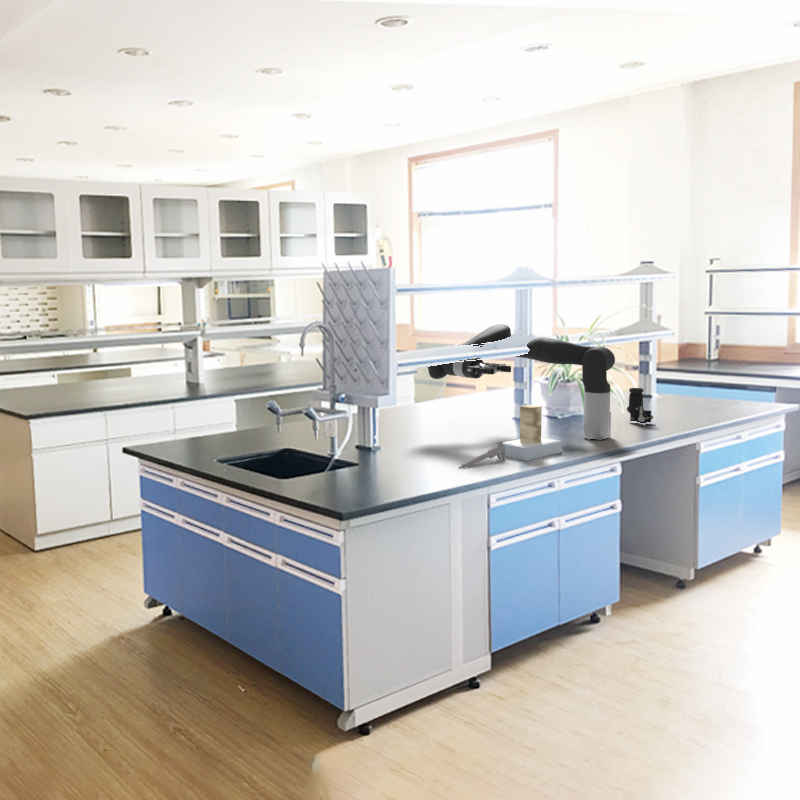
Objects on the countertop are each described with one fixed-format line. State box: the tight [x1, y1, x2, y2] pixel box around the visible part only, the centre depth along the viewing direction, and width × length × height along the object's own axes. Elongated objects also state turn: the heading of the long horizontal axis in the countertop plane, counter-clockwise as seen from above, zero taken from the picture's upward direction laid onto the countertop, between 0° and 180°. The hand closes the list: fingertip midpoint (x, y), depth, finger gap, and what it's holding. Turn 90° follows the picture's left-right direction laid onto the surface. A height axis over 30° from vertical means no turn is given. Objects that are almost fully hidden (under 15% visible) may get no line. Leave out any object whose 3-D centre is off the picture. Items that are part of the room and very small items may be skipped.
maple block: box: [519, 404, 543, 444], centre depth 283 cm, size 5×5×12 cm
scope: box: [626, 387, 654, 423], centre depth 338 cm, size 8×14×10 cm
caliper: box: [458, 440, 506, 469], centre depth 270 cm, size 20×1×6 cm, turn 130°
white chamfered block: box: [500, 436, 563, 461], centre depth 284 cm, size 18×12×4 cm, turn 131°
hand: (502, 370), depth 290 cm, fingers open, 8 cm apart
